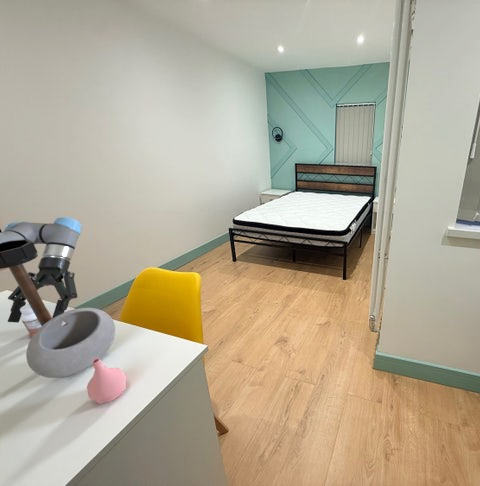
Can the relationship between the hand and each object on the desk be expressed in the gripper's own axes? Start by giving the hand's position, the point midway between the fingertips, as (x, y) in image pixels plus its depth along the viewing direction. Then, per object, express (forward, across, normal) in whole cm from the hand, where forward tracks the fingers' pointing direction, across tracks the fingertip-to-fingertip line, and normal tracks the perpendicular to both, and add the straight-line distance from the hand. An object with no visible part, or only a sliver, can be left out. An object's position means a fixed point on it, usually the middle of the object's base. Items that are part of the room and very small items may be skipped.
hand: (34, 321), depth 85 cm
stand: (+12, -17, +4) cm, 21 cm away
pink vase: (+21, -39, +12) cm, 46 cm away
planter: (+14, -25, +6) cm, 30 cm away
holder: (-12, -17, +28) cm, 34 cm away
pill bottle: (+3, 0, -5) cm, 6 cm away
